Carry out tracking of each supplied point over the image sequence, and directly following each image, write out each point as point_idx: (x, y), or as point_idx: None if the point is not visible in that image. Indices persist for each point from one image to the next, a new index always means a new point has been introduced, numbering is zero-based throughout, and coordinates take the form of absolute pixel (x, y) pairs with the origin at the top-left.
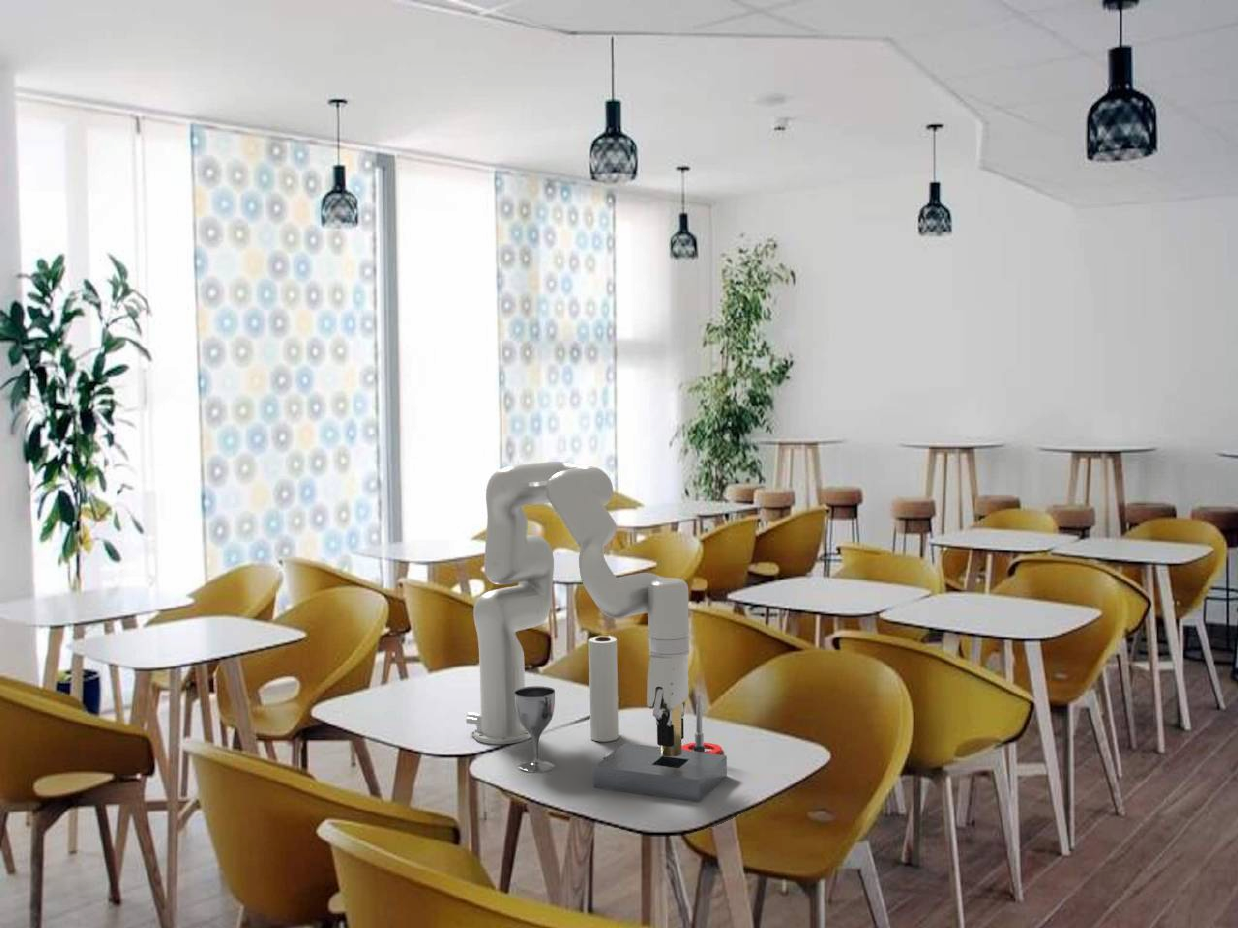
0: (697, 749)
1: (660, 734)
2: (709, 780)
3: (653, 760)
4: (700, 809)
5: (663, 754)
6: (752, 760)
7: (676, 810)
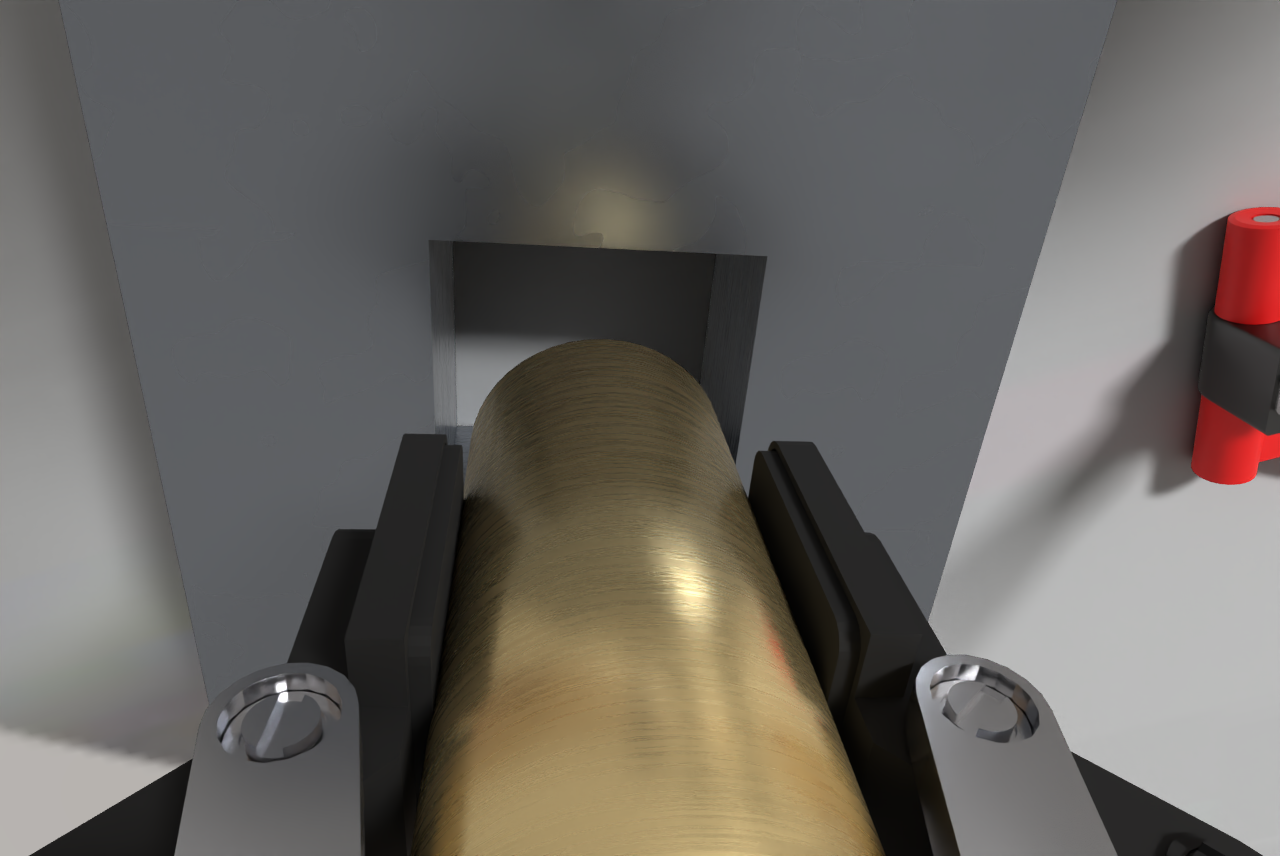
0: (1257, 372)
1: (311, 603)
2: None
3: (580, 213)
4: (145, 664)
5: (478, 416)
6: (1170, 658)
7: (23, 545)
